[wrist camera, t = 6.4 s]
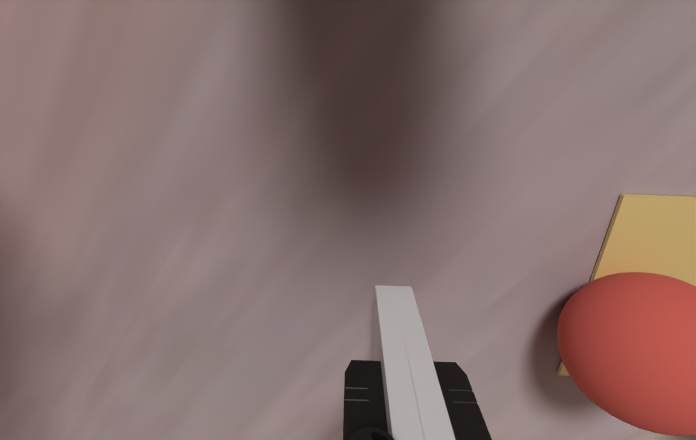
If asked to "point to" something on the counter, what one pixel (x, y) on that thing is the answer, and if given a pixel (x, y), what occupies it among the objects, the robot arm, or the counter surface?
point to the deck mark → (649, 239)
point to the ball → (634, 349)
